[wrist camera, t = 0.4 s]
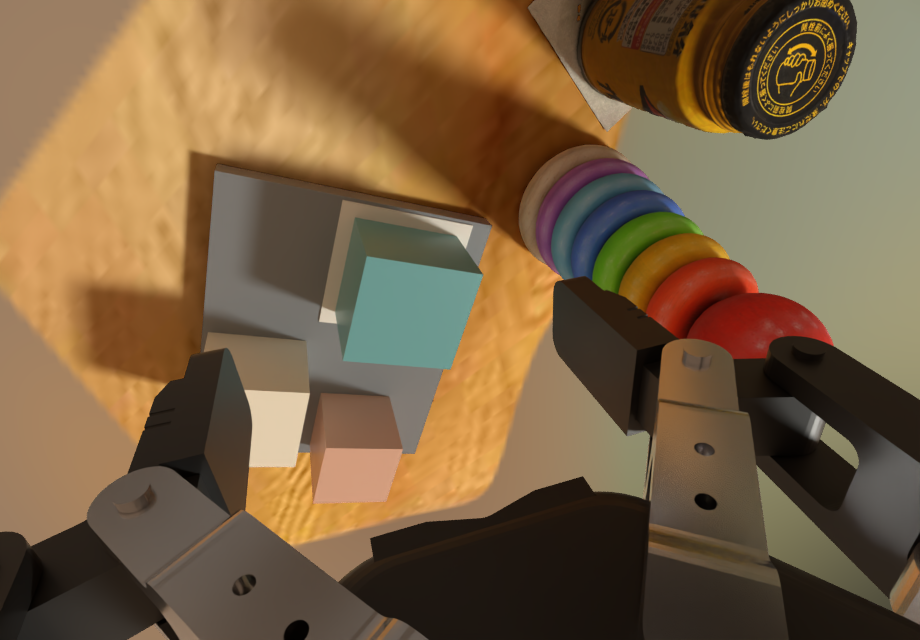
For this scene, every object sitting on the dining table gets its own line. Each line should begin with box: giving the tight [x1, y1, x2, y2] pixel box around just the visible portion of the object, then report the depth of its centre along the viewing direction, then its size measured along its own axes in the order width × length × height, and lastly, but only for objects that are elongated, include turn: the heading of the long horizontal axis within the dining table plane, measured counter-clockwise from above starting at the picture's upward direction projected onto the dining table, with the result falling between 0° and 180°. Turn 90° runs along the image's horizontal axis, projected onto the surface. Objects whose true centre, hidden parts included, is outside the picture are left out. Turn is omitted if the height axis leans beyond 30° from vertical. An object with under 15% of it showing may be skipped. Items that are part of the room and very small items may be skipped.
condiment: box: [528, 0, 857, 140], centre depth 23 cm, size 7×8×12 cm
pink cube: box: [310, 393, 403, 503], centre depth 34 cm, size 5×5×5 cm
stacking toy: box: [519, 145, 833, 359], centre depth 26 cm, size 8×8×19 cm
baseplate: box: [201, 164, 492, 454], centre depth 33 cm, size 18×15×1 cm
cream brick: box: [204, 332, 310, 467], centre depth 30 cm, size 5×5×5 cm
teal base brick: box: [335, 217, 483, 369], centre depth 29 cm, size 6×6×5 cm
